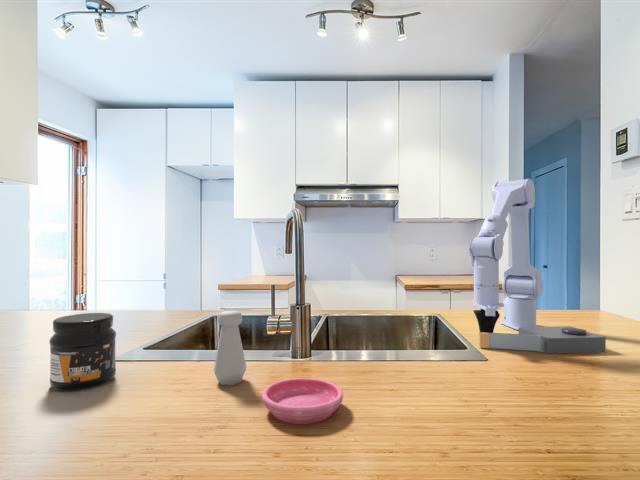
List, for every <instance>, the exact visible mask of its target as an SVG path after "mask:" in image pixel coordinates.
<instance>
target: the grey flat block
mask: <svg viewBox="0 0 640 480" xmlns="http://www.w3.org/2000/svg"><path fill="white" fill-rule="evenodd" d="M518 334H524V335H540V336H541V351H540V352H543V353H546V354H548V355H549V354H581V353H582V354H588V353H590V354H591V353H606V346H607V345H606V340H607V339H606V336H603V335H600V334H596V333H593V332H590V331H587V330H586V329H583V328H577V327H574V326H569V325H565V326H563V325H560V326H539V327H519V330H518Z"/></svg>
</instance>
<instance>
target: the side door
mask: <svg viewBox="0 0 640 480" xmlns="http://www.w3.org/2000/svg"><path fill="white" fill-rule="evenodd" d="M478 334H479V336H478V337H479V338H478V339H479V343H478V344H479V349H480V348H481V349H500V350H501V349H502V350H515V351H517V350H518V351H519V350H520V351H529V352H530V351H531V352H542V351H541V336H540V335H524V334H519V333H505V332H503V333H501V332H493V333H488V332H480V331H479V333H478Z"/></svg>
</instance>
